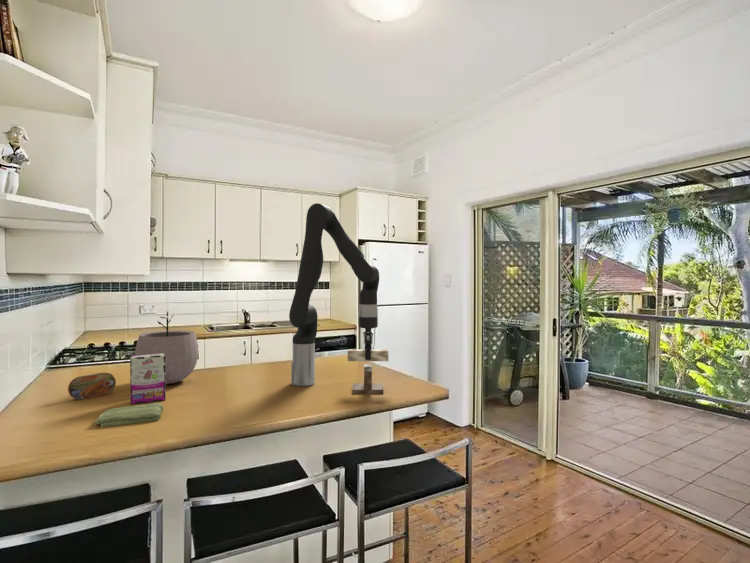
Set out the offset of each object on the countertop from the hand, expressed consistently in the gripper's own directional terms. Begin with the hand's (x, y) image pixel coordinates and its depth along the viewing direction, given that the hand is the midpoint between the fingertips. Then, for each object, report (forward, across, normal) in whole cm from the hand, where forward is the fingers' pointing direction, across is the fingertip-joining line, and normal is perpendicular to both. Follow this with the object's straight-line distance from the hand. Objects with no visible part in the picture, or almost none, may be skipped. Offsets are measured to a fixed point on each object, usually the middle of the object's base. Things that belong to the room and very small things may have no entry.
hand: (368, 358), depth 171 cm
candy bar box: (+13, -15, +79) cm, 81 cm away
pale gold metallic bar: (+1, 0, 0) cm, 1 cm away
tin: (+13, -10, +102) cm, 103 cm away
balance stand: (+13, 0, 0) cm, 13 cm away
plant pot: (+13, +11, +84) cm, 86 cm away
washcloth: (+13, -34, +75) cm, 83 cm away
